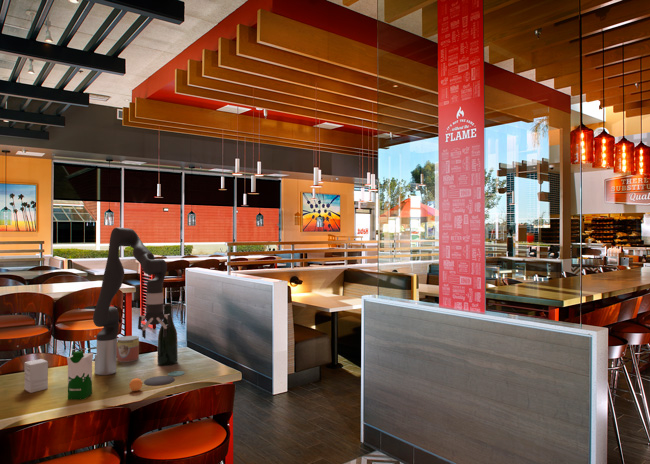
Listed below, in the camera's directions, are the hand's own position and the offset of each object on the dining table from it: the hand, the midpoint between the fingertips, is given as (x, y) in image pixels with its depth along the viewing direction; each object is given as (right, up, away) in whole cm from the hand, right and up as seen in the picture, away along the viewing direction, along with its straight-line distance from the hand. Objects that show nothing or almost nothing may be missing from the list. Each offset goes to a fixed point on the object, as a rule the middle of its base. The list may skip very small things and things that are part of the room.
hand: (154, 337), depth 210 cm
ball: (-7, -20, -5) cm, 22 cm away
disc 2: (+4, -23, +20) cm, 31 cm away
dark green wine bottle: (-7, -23, +39) cm, 46 cm away
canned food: (-33, -23, +47) cm, 61 cm away
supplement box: (-53, -23, -3) cm, 58 cm away
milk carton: (-28, -23, -12) cm, 38 cm away
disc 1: (-1, -23, +9) cm, 25 cm away
